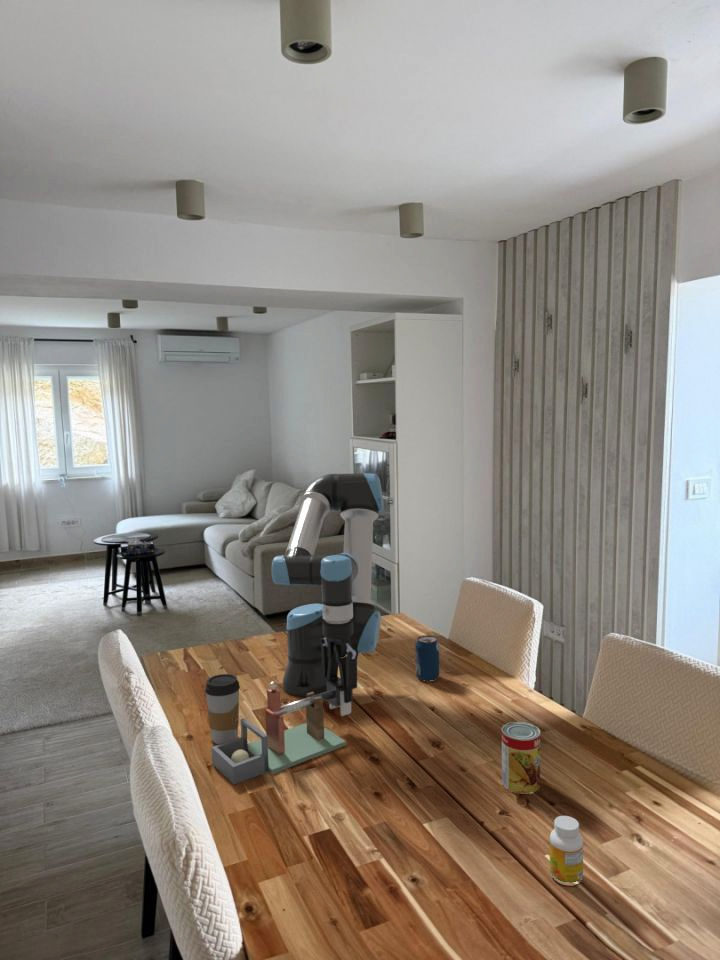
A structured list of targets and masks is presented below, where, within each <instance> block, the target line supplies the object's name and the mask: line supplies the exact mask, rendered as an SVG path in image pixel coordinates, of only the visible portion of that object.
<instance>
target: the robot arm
mask: <svg viewBox="0 0 720 960" xmlns="http://www.w3.org/2000/svg"><path fill="white" fill-rule="evenodd" d="M383 499H384V498H383V490H382V484H381V480H380V477H379V476H378V474H376V473H368V472H367V473H366V472H363V473H362V472H361V473H328V474H325V475H323V476H319V477H318V478H317V479H315V480H313V481H312V482H311V483H309V484H308V486H307V487H306V488H305V489H304V490H303V491H302V493H301V495H300V498H299V501H298V510H299V511H298V514H297V516H296V519H295V524H294V527H293V529H292V533H291V535H290V538H289V542H288V545H287V548H286V550H285V554H282V555H276V556H274V557H273V559H272V561H271V572H270V573H271V578H272V581H273V583H274V584H275V585H284V586H286V585H287V586H321V603H322V604H321V603H310V604H304V605H300V606H297V607H295V608H292V610H290V612H288V614H287V616H286V635H287V637H286V639H287V641H286V642H287V659H288V660H287V664H286V667H285V671H284V675H283V677H282V689H283V690H284V691H285V693H288V694H290V695H294V696H297V697H307V696H306V694H307V693H310V692H314V694H315V695H317V694H320V693H323V692H326V691H327V682H328V681H331V680H335V679H338V678H341V684H342V688H341V689H340V706H337V707H336V706H334V705H332V704H331V703H329V702H328V703H329V704H328V705H329V709H330V710H332V709H333V710H334V709H335V708H338V707H339V708H340V715H341V716H342V717H344V716H346V715H349V714H351V713H352V702H351V700H352V697H351V690H352V689H353V690H355V689H356V688H358V657H359V654H366V653H372V652H374V650H375V649H377V648H376V647H377V645H378V641H379V637H380V631H381V620H382V619H381V618H382V616H381V612H380V611H378V610H376V609H377V607H376V604H375V603H374V602H373V601H372V598H371V597H372V573H373V572H372V567H373V536H374V535H373V534H374V521H376V520H377V519H378V518H379V512H380V513H381V512H382V511H384V500H383ZM330 512H340V513H339V515H340V518H341V519H343V521H344V530H343V531H344V537H343V552H341V553H338V554H335V555H315V553H316V548H317V545H318V540H319V537H320V534H321V533H320V532H321V529H322V525H323V523H324V519H325V517H327V515H328V514H329V513H330ZM338 674H339V675H340V677H339V676H338Z"/></svg>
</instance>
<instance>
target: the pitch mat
mask: <svg viewBox="0 0 720 960" xmlns="http://www.w3.org/2000/svg"><path fill="white" fill-rule="evenodd" d="M284 740H285V753H284V754H281V755H279V754H278V753H277V752H275V751H274V750H273V749H272V748H270V747H269V746H268V763H269V771H268V772H269V773H270V774H271V775H273V774H276V773H278V772H279V773H280V772H281V771H283V770H287V769H289V768H292V767H294V766H297V765H300V764H302V763H305V762H307V761H308V760H312V759H314V758H317V757H319V756H322V755H324V754H327V753H329V752H332V751H335V750H338V749H340V748H343V747H344V746H346V745H347V742H346V740H344V739H343V738H341V737H340V736H339V735H336V734H335V732H332V731H331V730H329V729H328V728H326V727H325V726H324V739H321V740H317V739H315V738H314V737H312V736H311V735H309V734H308V733H307V722H304V723H302V724H300V725H297V726H293V727H291V728H288V729H284ZM247 744H248V755H249V757H250V758H252V757H255V756H258V755H260V754H262V742H261V738H260V739H256V740H254V741H251V742H247Z"/></svg>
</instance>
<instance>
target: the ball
mask: <svg viewBox="0 0 720 960" xmlns="http://www.w3.org/2000/svg"><path fill="white" fill-rule="evenodd" d="M249 758H250V755H249V754H248V753H247V752H246V751H245V750H241V749H240V750H237V751H235V752H234V753H233V754H232V757H231V760H232V761H233V762H234V763H235V764H236V763H238V762H241V761H244V760H247V759H249Z"/></svg>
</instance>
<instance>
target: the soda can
mask: <svg viewBox="0 0 720 960" xmlns="http://www.w3.org/2000/svg"><path fill="white" fill-rule="evenodd" d="M414 649H415V675H416V677H417V679H418V678H419V679H420V680H419V679H418V680H419V681H421V680H425V681H430V680H435V679H436V680H437V679H438V678H439V676H440V643H439V642H438V638H437V637H436V636H433V635H420V636H418V637H417V639H416V642H415V648H414ZM436 680H435V681H436Z"/></svg>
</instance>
